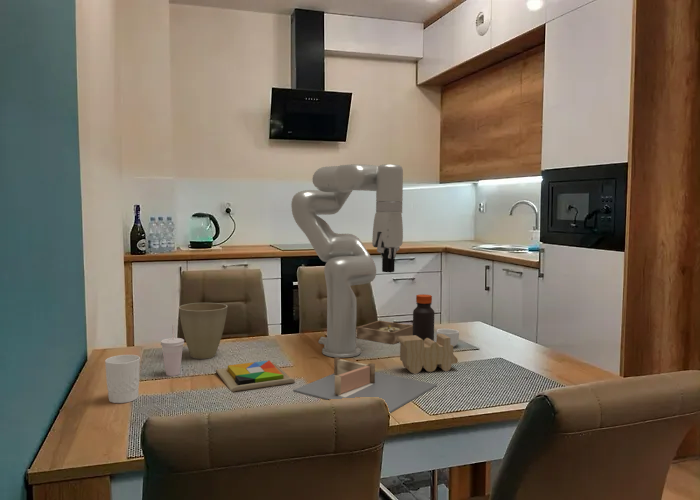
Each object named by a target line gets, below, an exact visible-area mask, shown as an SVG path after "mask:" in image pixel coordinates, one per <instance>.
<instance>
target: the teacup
mask: <svg viewBox="0 0 700 500" xmlns="http://www.w3.org/2000/svg"><path fill="white" fill-rule="evenodd" d="M435 334H436V338H437V334H444V335H446V336H448V337H450V344H451V345H453V348H454V347H456V346H457V345H458V342H459V338H460V336H459V335H460V331H459V330H458V329H452V328H438V329H436V331H435Z"/></svg>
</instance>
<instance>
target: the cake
mask: <svg viewBox="0 0 700 500" xmlns="http://www.w3.org/2000/svg"><path fill="white" fill-rule="evenodd" d="M378 330H382V331H388V332H395V331H397V330H400V329H399V328H394V327H393V328H392V327H391V325H389V326H388V327H387V328H379V329H378Z"/></svg>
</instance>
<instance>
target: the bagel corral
mask: <svg viewBox="0 0 700 500" xmlns="http://www.w3.org/2000/svg"><path fill="white" fill-rule="evenodd" d="M389 325H391V327H392V328H393V327H394V328H399V329H400V330H397V331H395V332H388V331H382V330H378V329H379V328H387V327H388V326H389ZM412 335H413V324H406V323H400V322H392V321H386V320H381V319H380V320H376V321H373V322H369V323H367V324H366V323H365V324H363V325H359V326H356V339H360V340H365V341H371V342H372V341H373V342H378V343H384V344H389V345H396V344H398V343H399V342H398V340H397V337H399V336H412Z"/></svg>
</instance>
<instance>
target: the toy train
mask: <svg viewBox="0 0 700 500" xmlns="http://www.w3.org/2000/svg"><path fill="white" fill-rule="evenodd" d="M397 340H398V343H399V344H400V347H399V352H400V353H399V359H400V361H401V363H402V364H401V365H402V366H403V367H404V368H405V369H407V371H408V372H410V373H411V374H415V375H416V374H419V373H420V372H421V371H422V369H424V370H425V371H426V372H429V373H431V372H434V371H436V370H437V367H438V368H439V369H441V370H442V371H445V372H448V371H450V370H451V368H452V365H453V364H454V365H455V364H457V363H458V362H459V361H458V358H457V357H456V356H455V354H454V347H453V345H451V344H450V337H448V336H446V335H444V334H437V337H436V341H435V340H434V341H433V340H431V339H429V338H426V339H425V340H422V339H421V338H419V337H418V336H416V335H412V336H399V337H397Z"/></svg>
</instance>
